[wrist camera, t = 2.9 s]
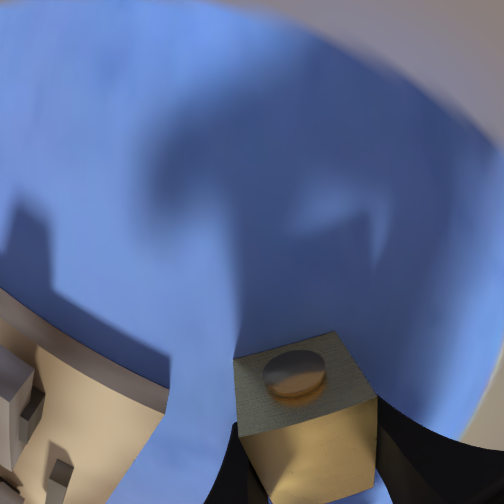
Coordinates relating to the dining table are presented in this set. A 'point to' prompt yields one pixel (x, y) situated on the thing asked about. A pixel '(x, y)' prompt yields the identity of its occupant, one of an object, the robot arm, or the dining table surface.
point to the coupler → (307, 421)
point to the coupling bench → (66, 414)
